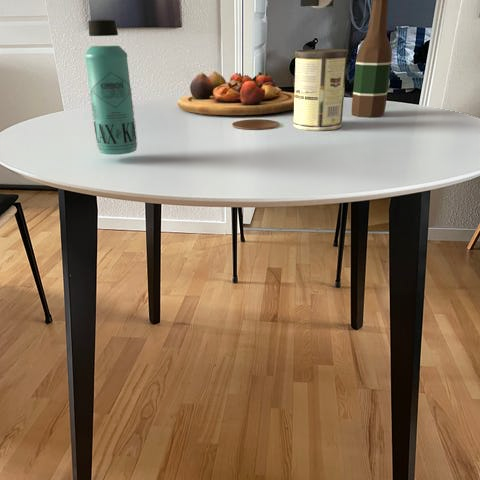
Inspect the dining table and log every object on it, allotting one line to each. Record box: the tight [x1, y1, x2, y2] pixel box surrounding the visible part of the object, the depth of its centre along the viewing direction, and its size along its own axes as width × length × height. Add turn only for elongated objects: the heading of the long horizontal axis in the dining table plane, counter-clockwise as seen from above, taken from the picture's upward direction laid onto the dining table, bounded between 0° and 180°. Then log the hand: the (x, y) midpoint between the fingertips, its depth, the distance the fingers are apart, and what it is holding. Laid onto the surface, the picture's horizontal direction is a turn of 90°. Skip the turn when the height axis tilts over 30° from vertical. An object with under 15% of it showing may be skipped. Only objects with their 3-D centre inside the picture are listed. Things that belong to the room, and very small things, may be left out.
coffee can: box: [292, 48, 349, 132], centre depth 101 cm, size 10×10×14 cm
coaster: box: [232, 118, 280, 131], centre depth 107 cm, size 10×10×1 cm
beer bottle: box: [351, 0, 393, 118], centre depth 110 cm, size 8×8×24 cm
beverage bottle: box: [84, 18, 139, 156], centre depth 77 cm, size 6×7×20 cm
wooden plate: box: [177, 71, 295, 116], centre depth 126 cm, size 32×32×8 cm
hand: (317, 6), depth 79 cm, fingers closed on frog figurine, 6 cm apart
